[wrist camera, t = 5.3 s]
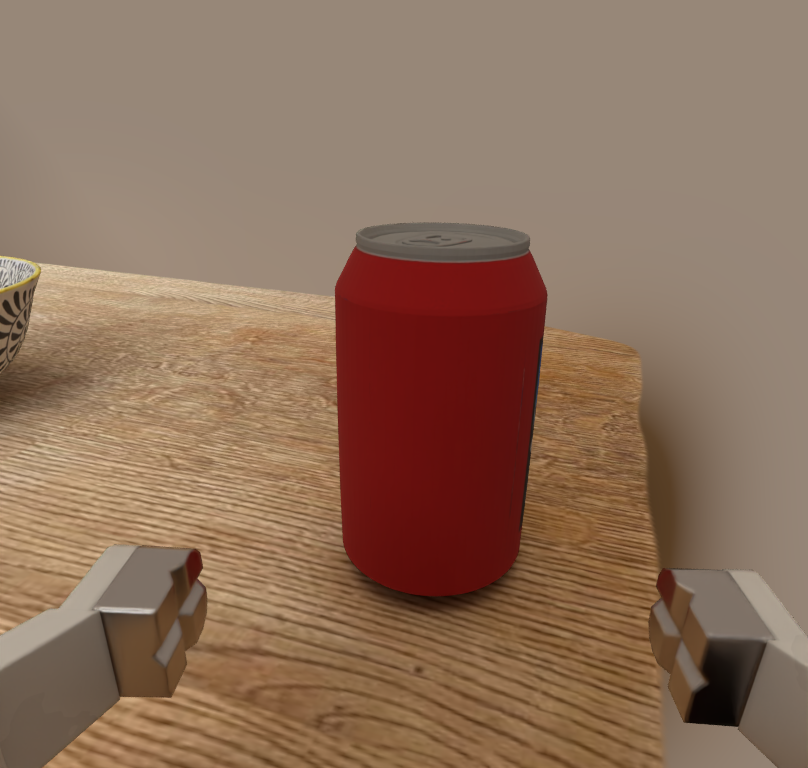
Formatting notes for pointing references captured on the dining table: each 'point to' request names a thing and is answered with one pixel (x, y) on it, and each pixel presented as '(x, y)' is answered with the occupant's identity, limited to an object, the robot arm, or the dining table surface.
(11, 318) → the bowl
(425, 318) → the beverage can
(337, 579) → the dining table surface
